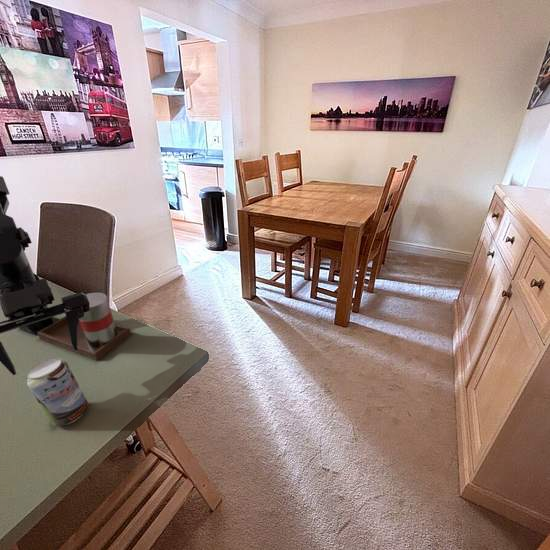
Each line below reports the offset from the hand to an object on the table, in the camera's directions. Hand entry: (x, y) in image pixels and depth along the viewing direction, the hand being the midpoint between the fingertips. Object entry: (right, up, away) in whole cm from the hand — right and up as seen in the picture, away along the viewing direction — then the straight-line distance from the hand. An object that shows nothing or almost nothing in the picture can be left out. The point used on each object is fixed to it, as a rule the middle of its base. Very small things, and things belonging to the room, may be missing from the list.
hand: (46, 361), depth 54 cm
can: (-1, -1, +20) cm, 20 cm away
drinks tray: (-7, 0, +22) cm, 23 cm away
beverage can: (+2, -11, +3) cm, 11 cm away
